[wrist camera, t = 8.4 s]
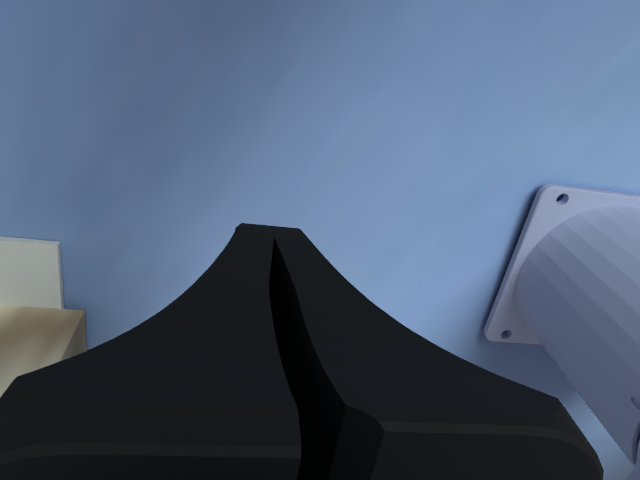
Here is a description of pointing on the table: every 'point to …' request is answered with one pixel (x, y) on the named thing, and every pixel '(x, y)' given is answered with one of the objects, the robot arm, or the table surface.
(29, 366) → the ash block
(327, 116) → the table surface
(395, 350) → the robot arm
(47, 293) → the mat
